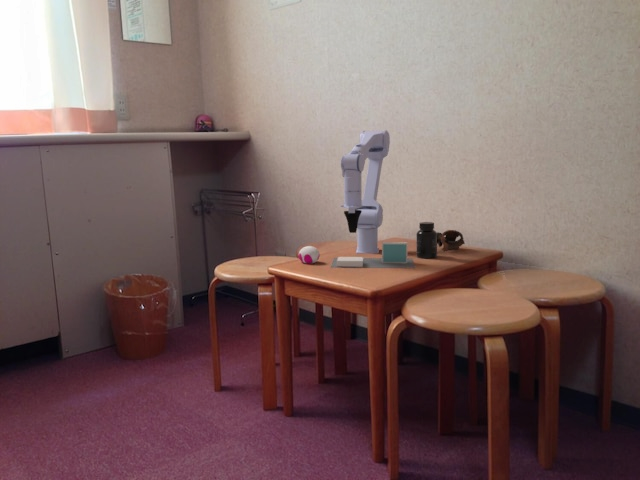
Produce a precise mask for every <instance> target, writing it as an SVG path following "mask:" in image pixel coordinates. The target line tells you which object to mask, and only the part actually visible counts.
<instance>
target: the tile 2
mask: <svg viewBox="0 0 640 480" xmlns="http://www.w3.org/2000/svg"><path fill="white" fill-rule="evenodd" d="M381 258H382V263H407V258H408V242H407V241H406V242H405V241H400V242H399V241H391V242H390V241H382V242H381Z"/></svg>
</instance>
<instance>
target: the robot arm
mask: <svg viewBox="0 0 640 480" xmlns="http://www.w3.org/2000/svg"><path fill="white" fill-rule="evenodd" d="M390 140H391V139H390V133H389V131H388V130H386V129H385V130H371V131H370V130H367V131H366V130H362V131H361V133H360V134H359V143H356V144H355V145H354V146H353V148H352V149H351V150H350V151H349V153H348V154H347V153H345V154H344V155H342V157H341V159H340V168H341V171H342V172H341V173H342V174H341V175H342V177H343V204H340V208H343V209H344V208H345V209H348V210H344V211H343V214H344V216H345V218H346V221H347V227H348V231H349V234H354V233H355V234H356V237H357V238H356V239H357V240H356V241H357V243H356V244H357V245H356V246H357V247H356V251H355V254H379V250H380V247H379V246H378V237H379V232H378V231H379V229H378V228H380V227H381V225H382V224H383V221H384V220H383V217H384V215H383V212H384V209H383V207H382V204H381V203H379V202H378V201H377V200H378V199H377V198H378V192H379V187H380V185H379V184H380V179H381V174H382V173H381V172H382V168H383V167H382V166H383V163H384V162H383V160H384V159H385V158H386V157H387V156H388V154H389V150H390V144H391V141H390ZM366 160H368V164H367V165H368V166H367V173H366V178H365V184H364V190H363V195H362V172H363V171H364V168H365V164H366Z"/></svg>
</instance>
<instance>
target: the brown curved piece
mask: <svg viewBox="0 0 640 480" xmlns="http://www.w3.org/2000/svg"><path fill="white" fill-rule="evenodd" d="M436 232H437V231H436ZM458 237H460V238H459V239H458V240H457V238H458ZM463 245H465V240H464V236H463V234H462V233H461V232H460V231H457V230H454V229H447V230H445V231H443V232H437V246H438V247H439V248H441V247H442V251H444V252H445V251H446V252H445V253H447V252H448V251H450V250H455V249H460V247H461V246H463Z"/></svg>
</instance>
